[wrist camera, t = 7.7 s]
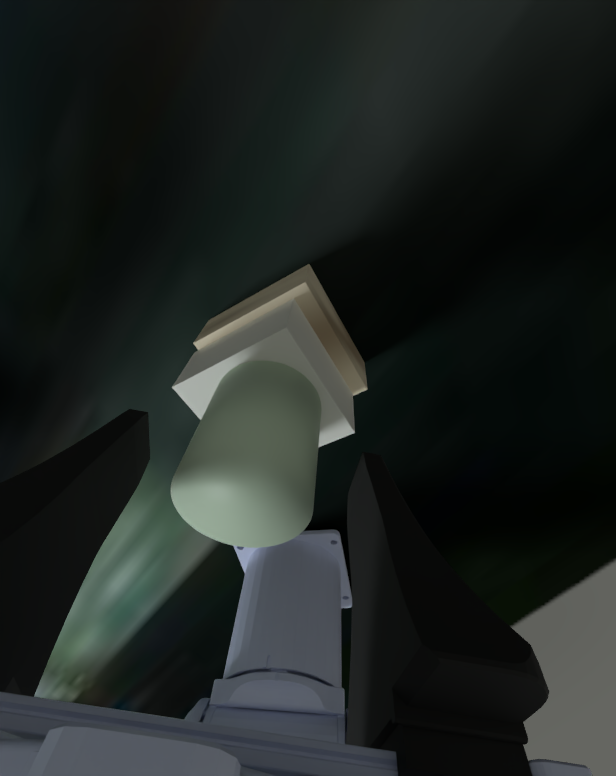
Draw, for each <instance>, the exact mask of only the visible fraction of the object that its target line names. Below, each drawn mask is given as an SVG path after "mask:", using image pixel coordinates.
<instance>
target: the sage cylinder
mask: <svg viewBox="0 0 616 776" xmlns="http://www.w3.org/2000/svg"><path fill="white" fill-rule="evenodd" d="M320 421H321V401H320V397H319V395H318V392H317V390H316V389H315V387H314V386H313V384H312V383H311V382H310V381H309V380H308V379H307V378H306V377H305V376H304V375H303V374H302V373H300V372H299V371H297V370H295V369H294V368H292V367H289V366H287V365H285V364H281V363H278V362H273V361H252V362H247V363H244V364H241V365H239V366H237V367H235V368H233V369H232V370H230V371H229V372H228V373H227V374H226V375H225V376H224V377H223V378H222V379H221V381H220V382H219V384H218V386H217V388H216V390H215V392H214V394H213V396H212V399H211V401H210V403H209V405H208V407H207V409H206V411H205V413H204V415H203V417H202V419H201V421H200V423H199V425H198V427H197V429H196V431H195V433H194V435H193V438H192V440H191V442H190V444H189V446H188V448H187V450H186V452H185V454H184V456H183V458H182V460H181V462H180V464H179V466H178V468H177V470H176V472H175V474H174V477H173V479H172V483H171V497H172V501H173V503H174V506H175V508H176V509H177V511H178V513H179V514H180V515H181V517H182V518H183V519H184V520H185V521H186V522H187V523H188V524H189V525H191V526H192V527H193V528H194V529H196V530H197V531H199V532H200V533H202V534H204V535H206V536H207V537H210V538H212V539H214V540H217V541H219V542H222V543H226V544H229V545H234V546H239V547H249V548H260V547H269V546H275V545H279V544H282V543H285V542H287V541H289V540H291V539H293V538H295V537H296V536H298V535H299V534H300V533H301V532H303V531H304V530H305V528H306V527H307V526H308V524H309V522H310V520H311V518H312V515H313V506H314V494H315V482H316V470H317V458H318V446H319V433H320Z"/></svg>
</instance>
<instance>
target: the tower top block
mask: <svg viewBox="0 0 616 776" xmlns="http://www.w3.org/2000/svg"><path fill="white" fill-rule="evenodd" d="M252 361H273V362H278V363H281V364H285V365H287V366H289V367H292V368H294V369H295V370H297V371H299V372H300V373H302V374H303V375H304V376H305V377H306V378H307V379H308V380H309V381H310V382H311V383H312V384H313V386H314V387H315V389H316V390H317V392H318V395H319V397H320V401H321V421H320V433H319V446H318V447H320V446H323V445H325V444H328V443H330V442H333V441H335V440H338V439H340V438H343V437H345V436H348V435H350V434H353V433H355V427H354V409H353V393H352V392H351V390H350V388H349V387H348V385H347V384H346V382H345V380H344V379H343V377H342V375H341V374H340V372H339V371H338V369H337V367H336V366H335V364H334V362H333V361H332V359H331V358H330V356H329V354H328V353H327V351H326V349H325V348H324V346H323V345H322V343H321V341H320V340H319V338H318V336H317V335H316V333H315V332H314V330H313V328H312V327H311V325H310V323H309V322H308V320H307V319H306V317H305V315H304V314H303V312H302V310H301V309H300V307H299V306H298V304H297V302H296V301H295V299H292V300H290V301H288V302H286V303H284V304H283V305H281V306H279V307H277V308H275V309H273V310H272V311H270V312H268V313H266V314H264V315H262V316H261V317H259V318H257V319H255V320H253V321H252V322H250V323H248V324H246V325H244V326H242V327H241V328H239V329H237V330H235V331H233V332H231V333H230V334H228V335H226V336H224V337H222V338H220V339H219V340H217V341H215V342H213V343H211V344H209V345H208V346H206V347H204V348H202V349H200V350H198V351H197V352H195V353H194V354H193V356H192V357H191V359H190V360H189V362H188V363H187V365H186V366H185V368H184V369H183V371H182V373H181V374H180V376H179V377H178V379H177V380H176V382H175V383H174V385H173V386H172V388H173V389H174V390H175V391H176V392H177V394H178V395H179V396H180V397H181V398H182V399H183V400H184V402H185V403H186V404H187V405H188V406H189V407H190V408H191V409H192V411H193V412H194V413H195V414H196V415H197V416H198V417H199V419H200V420H201V419H202V417H203V415H204V413H205V411H206V409H207V407H208V405H209V403H210V401H211V399H212V396H213V394H214V392H215V390H216V388H217V386H218V384H219V382H220V381H221V379H222V378H223V377H224V376H225V375H226V374H227V373H228V372H229V371H230V370H232V369H233V368H235V367H237V366H239V365H241V364H244V363H247V362H252Z"/></svg>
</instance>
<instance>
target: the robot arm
mask: <svg viewBox="0 0 616 776" xmlns="http://www.w3.org/2000/svg"><path fill="white" fill-rule="evenodd" d="M149 460H150V446H149V423H148V412H143V411H138V410H132V409H129V410H127V411H126V412H124V413H123V414H121V415H119V416H118V417H116V418H115V419H113V420H112V421H110V422H109V423H107V424H106V425H104V426H103V427H101V428H100V429H98V430H96V431H95V432H93V433H92V434H90V435H89V436H87V437H85V438H84V439H82V440H81V441H79V442H77V443H76V444H74V445H73V446H71V447H69V448H67V449H66V450H64V451H62V452H60V453H59V454H57V455H55V456H53V457H52V458H50V459H48V460H46V461H45V462H43V463H41V464H39V465H37V466H35V467H33V468H31V469H29V470H27V471H25V472H23V473H21V474H19V475H17V476H15V477H12V478H10V479H8V480H6V481H4V482H1V483H0V776H593V775H592V773H591V770H590V769H589V768H588V767H586V766H584V765H579V764H572V763H566V762H559V761H553V760H546V759H536V760H530V761H528V759H527V756H526V753H525V750H524V746H523V744H527V742H528V737H527V734H526V730H525V727H524V724H523V721H525V720H526V719H527V718H529V717H530V716H531V715H532V714H534V713H535V712H536V711H537V710H538V709H539V708H541V707H542V706H543V704H544V703H545V702H546V700H547V699H548V694H549V690H548V687H547V684H546V682H545V679H544V677H543V673H542V671H541V668H540V666H539V663H538V660H537V658H536V656H535V654H534V652H533V649H532V647H531V645H530V644H529V643H528V642H527V641H525V640H524V639H523V638H522V637H521V636H520V635H519V634H518V633H516V632H515V631H514V630H513V629H512V628H511V627H510V626H509V625H507V624H506V623H505V622H504V621H503V620H502V619H501V618H499V617H498V616H497V615H496V614H495V613H494V612H493V611H492V610H491V609H490V608H489V607H488V606H487V605H486V604H485V603H484V602H483V601H482V600H481V599H480V598H479V597H478V596H477V595H476V594H475V593H474V592H473V591H472V590H471V589H470V588H469V587H468V586H467V584H466V583H465V582H464V581H463V580H462V579H461V578H460V577H459V575H458V574H457V573H456V572H455V571H454V570H453V569H452V568H451V566H450V565H449V564H448V563H447V562H446V560H445V559H444V558H443V557H442V555H441V554H440V553H439V552H438V550H437V549H436V548H435V546H434V545H433V544H432V542H431V541H430V540H429V538H428V537H427V535H426V534H425V532H424V531H423V529H422V528H421V526H420V525H419V523H418V522H417V520H416V519H415V517H414V516H413V514H412V512H411V511H410V509H409V507H408V506H407V504H406V502H405V500H404V499H403V497H402V495H401V493H400V492H399V490H398V488H397V486H396V484H395V482H394V480H393V479H392V477H391V475H390V473H389V471H388V469H387V467H386V465H385V463H384V461H383V459H382V457H381V455H377V454H371V453H366V452H362V455H361V458H360V461H359V464H358V467H357V470H356V472H355V475H354V478H353V481H352V484H351V487H350V490H349V493H348V507H347V531H348V545H349V558H350V570H351V583H352V594H351V588H350V583H349V578H348V573H347V568H346V563H345V557H344V552H343V547H342V542H341V537H340V533H339V531H337V530H334V529H330V530H312V531H303V532H301V533H300V534H299V535H298V536H296V537H295V538H293V539H291V540H289V541H287V542H285V543H282V544H279V545H275V546H269V547H260V548H249V547H239V546H234V545H233V546H234V548H235V551H236V553H237V556H238V558H239V560H240V563H241V565H242V568H243V570H244V573H245V577H244V582H243V587H242V591H241V596H240V601H239V606H238V610H237V615H236V620H235V624H234V629H233V634H232V639H231V643H230V648H229V653H228V657H227V662H226V667H225V671H224V676H223V679H216V680H215V681H214V686H213V690H212V694H211V699H209V698H203V699H200V700H199V701H198V703H197V704H196V705H195V707H194V708H193V709H192V710H191V711H190V712H189V713H188V714H187V716H186V718H185V719H184V720H183V719H176V718H170V717H163V716H157V715H150V714H143V713H137V712H130V711H124V710H117V709H110V708H104V707H97V706H91V705H84V704H77V703H71V702H64V701H58V700H51V699H44V698H38V697H34V694H35V692H36V689H37V687H38V685H39V682H40V680H41V677H42V675H43V672H44V670H45V667H46V665H47V662H48V660H49V657H50V655H51V653H52V650H53V648H54V646H55V643H56V641H57V639H58V636H59V634H60V632H61V629H62V627H63V625H64V622H65V620H66V618H67V616H68V613H69V611H70V609H71V607H72V605H73V602H74V600H75V598H76V596H77V594H78V592H79V589H80V587H81V585H82V583H83V581H84V579H85V577H86V575H87V573H88V571H89V569H90V567H91V564H92V562H93V560H94V558H95V556H96V555H97V553H98V551H99V549H100V547H101V546H102V544H103V542H104V540H105V539H106V537H107V536H108V534H109V532H110V531H111V529H112V527H113V526H114V524H115V523H116V521H117V519H118V518H119V516H120V514H121V513H122V511H123V510H124V508H125V506H126V505H127V503H128V501H129V500H130V498H131V496H132V495H133V493H134V491H135V490H136V488H137V486H138V484H139V482H140V480H141V478H142V476H143V474H144V471H145V469H146V467H147V464H148V462H149ZM350 607H352V633H351V663H350V684H349V704H348V709H346V720H344V689H343V688H341V608H350Z"/></svg>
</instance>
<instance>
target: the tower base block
mask: <svg viewBox="0 0 616 776" xmlns="http://www.w3.org/2000/svg"><path fill="white" fill-rule="evenodd" d="M292 299H295V301H296V302H297V304H298V306H299V307H300V309H301V310H302V312H303V314H304V315H305V317H306V319H307V320H308V322H309V323H310V325H311V327H312V328H313V330H314V332H315V333H316V335H317V336H318V338H319V340H320V341H321V343H322V345H323V346H324V348H325V349H326V351H327V353H328V354H329V356H330V358H331V359H332V361H333V362H334V364H335V366H336V367H337V369H338V371H339V372H340V374H341V375H342V377H343V379H344V380H345V382H346V384H347V385H348V387H349V388H350V390H351V392H352V393H353V396H354V395H356V394H358V393H361V392H363V391H365V390H367V381H366V372H365V363H364V361H363V359H362V357H361V355H360V354H359V352H358V350H357V348H356V347H355V345H354V343H353V341H352V339H351V338H350V336H349V334H348V332H347V330H346V329H345V327H344V325H343V323H342V321H341V320H340V318H339V316H338V314H337V313H336V311H335V309H334V307H333V305H332V304H331V302H330V300H329V298H328V296H327V295H326V293H325V291H324V289H323V287H322V286H321V284H320V282H319V280H318V279H317V277H316V275H315V273H314V271H313V270H312V268H311V266H310V264H308V265H306V266H304V267H302V268H301V269H299V270H297V271H295V272H293V273H292V274H290V275H288V276H286V277H285V278H283V279H281V280H279V281H277V282H276V283H274V284H272V285H270V286H269V287H267V288H265V289H263V290H261V291H260V292H258V293H256V294H254V295H253V296H251V297H249V298H247V299H246V300H244V301H242V302H240V303H238V304H237V305H235V306H233V307H231V308H230V309H228V310H226V311H224V312H222V313H221V314H219V315H217V316H215V317H214V318H212V319H210V320H209V321H208V322H207V324H206V325H205V327H204V328H203V330H202V331H201V333H200V334H199V336H198V337H197V339H196V340H195V341H194V343H193V344H194V345H195V346H196V347H197V349H198V350H200V349H202V348H204V347H206V346H208V345H209V344H211V343H213V342H215V341H217V340H219V339H220V338H222V337H224V336H226V335H228V334H230V333H231V332H233V331H235V330H237V329H239V328H241V327H242V326H244V325H246V324H248V323H250V322H252V321H253V320H255V319H257V318H259V317H261V316H262V315H264V314H266V313H268V312H270V311H272V310H273V309H275V308H277V307H279V306H281V305H283V304H284V303H286V302H288V301H290V300H292Z"/></svg>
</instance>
